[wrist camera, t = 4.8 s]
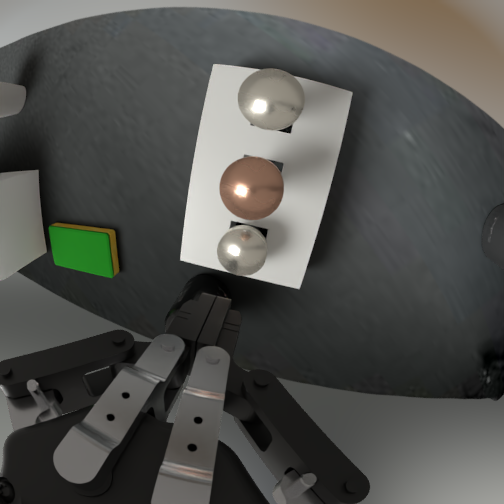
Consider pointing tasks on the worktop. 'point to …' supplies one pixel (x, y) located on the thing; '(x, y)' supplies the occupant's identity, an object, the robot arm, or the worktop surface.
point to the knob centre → (251, 188)
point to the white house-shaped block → (20, 221)
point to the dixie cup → (11, 99)
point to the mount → (273, 148)
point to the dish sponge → (85, 248)
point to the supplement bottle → (197, 293)
